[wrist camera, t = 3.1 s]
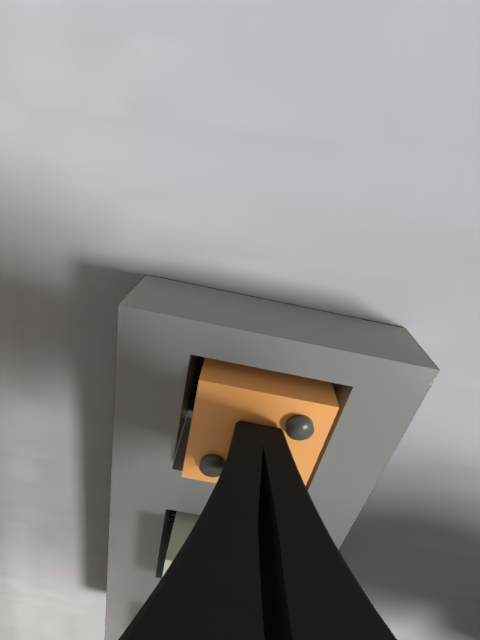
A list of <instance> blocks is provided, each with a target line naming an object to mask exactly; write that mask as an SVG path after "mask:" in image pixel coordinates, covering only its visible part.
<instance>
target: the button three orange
mask: <svg viewBox="0 0 480 640" xmlns="http://www.w3.org/2000/svg"><path fill="white" fill-rule="evenodd" d="M338 410H339V405H338V401H337V398H336V395H335V392H334V388H333V385H332V383H331V382H326V381H321V380H316V379H311V378H306V377H301V376H296V375H291V374H286V373H281V372H276V371H271V370H266V369H261V368H256V367H251V366H246V365H241V364H236V363H231V362H226V361H221V360H216V359H211V358H206V357H205V359H204V363H203V366H202V370H201V374H200V377H199V381H198V387H197V393H196V398H195V404H194V410H193V415H192V421H191V426H190V432H189V438H188V443H187V449H186V455H185V460H184V466H183V471H182V477H184V478H190V479H195V480H200V481H206V482H211V483H217V481H218V479H219V477H220V474H221V472H222V469H223V467H224V465H225V462H226V460H227V456H228V452H229V448H230V444H231V440H232V436H233V432H234V428H235V424H236V422H238V421H246V422H251V423H256V424H261V425H267V426H272V427H277V428H281V429H282V430H283V432H284V435H285V438H286V440H287V443H288V446H289V448H290V451H291V454H292V456H293V459H294V461H295V463H296V466H297V468H298V471H299V473H300V475H301V477H302V480H303V482H304V484H305V486H306V484H307V482H308V480H309V477H310V475H311V473H312V470H313V468H314V466H315V463H316V461H317V459H318V456H319V454H320V452H321V449H322V447H323V445H324V442H325V440H326V438H327V435H328V433H329V431H330V428H331V426H332V424H333V421H334V419H335V417H336V414H337V412H338Z"/></svg>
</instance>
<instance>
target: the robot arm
mask: <svg viewBox="0 0 480 640" xmlns="http://www.w3.org/2000/svg"><path fill="white" fill-rule="evenodd" d="M118 640H397V639H396V638H395V636H394V635H393V633H392V632H391V631H390V629H389V628H388V626H387V625H386V624H385V622H384V621H383V619H382V618H381V617H380V615H379V614H378V612H377V611H376V609H375V608H374V606H373V605H372V603H371V602H370V600H369V599H368V597H367V596H366V594H365V593H364V591H363V589H362V588H361V586H360V585H359V583H358V582H357V580H356V579H355V577H354V575H353V574H352V572H351V570H350V569H349V567H348V565H347V564H346V562H345V561H344V559H343V557H342V555H341V554H340V552H339V550H338V549H337V547H336V545H335V543H334V541H333V540H332V538H331V536H330V534H329V532H328V530H327V529H326V527H325V525H324V523H323V521H322V519H321V517H320V515H319V513H318V511H317V509H316V507H315V505H314V503H313V501H312V499H311V497H310V495H309V493H308V490H307V488H306V486H305V484H304V482H303V480H302V477H301V475H300V473H299V471H298V468H297V466H296V463H295V461H294V459H293V456H292V454H291V451H290V448H289V446H288V443H287V440H286V438H285V435H284V432H283V430H282V429H281V428H277V427H272V426H267V425H261V424H256V423H251V422H246V421H238V422H236V424H235V428H234V432H233V436H232V440H231V444H230V448H229V452H228V456H227V460H226V462H225V465H224V467H223V469H222V472H221V474H220V477H219V479H218V481H217V483H216V485H215V487H214V489H213V491H212V493H211V495H210V497H209V499H208V501H207V503H206V505H205V507H204V509H203V511H202V513H201V515H200V516H199V518H198V520H197V522H196V524H195V525H194V527H193V529H192V531H191V532H190V534H189V536H188V537H187V539H186V541H185V542H184V544H183V546H182V547H181V549H180V550H179V552H178V554H177V555H176V557H175V558H174V560H173V561H172V563H171V565H170V566H169V568H168V569H167V571H166V572H165V574H164V576H163V577H162V579H161V580H160V582H159V583H158V585H157V586H156V587H155V589H154V590H153V592H152V593H151V595H150V596H149V598H148V599H147V600H146V602H145V603H144V605H143V606H142V607H141V609H140V610H139V612H138V613H137V614H136V616H135V617H134V619H133V620H132V621H131V623H130V624H129V626H128V627H127V628H126V630H125V631H124V633H123V634H122V635H121V637H120V638H119V639H118Z"/></svg>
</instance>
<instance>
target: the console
mask: <svg viewBox="0 0 480 640" xmlns="http://www.w3.org/2000/svg"><path fill="white" fill-rule="evenodd" d="M197 356H201V357H206V358H211V359H216V360H221V361H226V362H231V363H236V364H241V365H246V366H251V367H256V368H261V369H266V370H271V371H276V372H281V373H286V374H291V375H296V376H301V377H306V378H311V379H316V380H321V381H326V382H331V383H332V385H333V388H334V392H335V395H336V398H337V401H338V405H339V410H338V412H337V414H336V417H335V419H334V421H333V424H332V426H331V428H330V431H329V433H328V435H327V438H326V440H325V442H324V445H323V447H322V449H321V452H320V454H319V456H318V459H317V461H316V463H315V466H314V468H313V470H312V473H311V475H310V477H309V480H308V482H307V484H306V488H307V490H308V493H309V495H310V497H311V499H312V501H313V503H314V505H315V507H316V509H317V511H318V513H319V515H320V517H321V519H322V521H323V523H324V525H325V527H326V529H327V530H328V532H329V534H330V536H331V538H332V540H333V541H334V543H335V545H336V547H337V549H338V550H339V548H340V546H341V545H342V543H343V541H344V539H345V537H346V536H347V534H348V532H349V530H350V529H351V527H352V525H353V523H354V522H355V520H356V518H357V516H358V515H359V513H360V511H361V509H362V507H363V506H364V504H365V502H366V500H367V499H368V497H369V495H370V493H371V492H372V490H373V488H374V486H375V484H376V483H377V481H378V479H379V477H380V476H381V474H382V472H383V470H384V469H385V467H386V465H387V463H388V462H389V460H390V458H391V456H392V454H393V453H394V451H395V449H396V447H397V446H398V444H399V442H400V440H401V439H402V437H403V435H404V433H405V431H406V430H407V428H408V426H409V424H410V423H411V421H412V419H413V417H414V416H415V414H416V412H417V410H418V408H419V407H420V405H421V403H422V401H423V400H424V398H425V396H426V394H427V393H428V391H429V389H430V387H431V386H432V384H433V382H434V380H435V378H436V377H437V375H438V373H439V371H440V370H439V368H438V367H437V366H436V365H435V363H434V362H433V361H432V360H431V359H430V357H429V356H428V355H427V354H426V352H425V351H424V350H423V349H422V348H421V346H420V345H419V344H418V343H417V342H416V340H415V339H414V338H413V337H412V335H411V334H410V333H409V332H408V331H407V329H406V328H401V327H396V326H392V325H387V324H382V323H377V322H372V321H367V320H363V319H358V318H353V317H348V316H343V315H338V314H334V313H329V312H324V311H319V310H314V309H309V308H305V307H300V306H295V305H290V304H285V303H280V302H276V301H271V300H266V299H261V298H256V297H251V296H247V295H242V294H237V293H232V292H227V291H223V290H218V289H213V288H208V287H203V286H198V285H194V284H189V283H184V282H179V281H174V280H169V279H165V278H160V277H155V276H150V275H146V276H145V277H144V278H143V279H142V280H141V281H140V282H139V283H138V284H137V285H136V286H135V287H134V289H133V290H132V291H131V292H130V293H129V294H128V295H127V296H126V297H125V298H124V299H123V300H122V301H121V302H120V303H119V304H118V320H117V345H116V370H115V395H114V420H113V445H112V470H111V495H110V520H109V545H108V570H107V595H106V620H105V640H118V639H119V638H120V637H121V635H122V634H123V633H124V631H125V630H126V628H127V627H128V626H129V624H130V623H131V621H132V620H133V619H134V617H135V616H136V614H137V613H138V612H139V610H140V609H141V607H142V606H143V605H144V603H145V602H146V600H147V599H148V598H149V596H150V595H151V593H152V592H153V590H154V589H155V587H156V586H157V585H158V583H159V582H160V580H161V579H162V575H163V569H164V564H165V558H166V554H167V550H168V546H169V541H170V537H171V533H172V529H173V524H174V523H172V522H169V519H170V513H171V510H175V511H180V512H186V513H191V514H197V515H201V513H202V511H203V509H204V507H205V505H206V503H207V501H208V499H209V497H210V495H211V493H212V491H213V489H214V487H215V485H216V483H211V482H206V481H200V480H195V479H190V478H184V477H182V471H183V466H184V460H185V455H186V449H187V443H188V438H189V432H190V426H191V421H192V420H191V419H186V418H187V412H188V406H189V400H190V394H191V388H192V382H193V376H194V370H195V364H196V358H197Z"/></svg>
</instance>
